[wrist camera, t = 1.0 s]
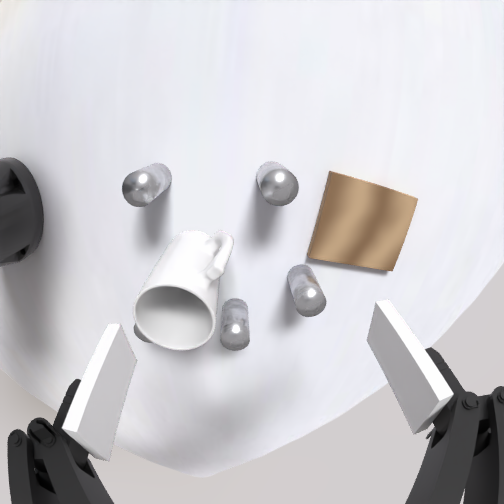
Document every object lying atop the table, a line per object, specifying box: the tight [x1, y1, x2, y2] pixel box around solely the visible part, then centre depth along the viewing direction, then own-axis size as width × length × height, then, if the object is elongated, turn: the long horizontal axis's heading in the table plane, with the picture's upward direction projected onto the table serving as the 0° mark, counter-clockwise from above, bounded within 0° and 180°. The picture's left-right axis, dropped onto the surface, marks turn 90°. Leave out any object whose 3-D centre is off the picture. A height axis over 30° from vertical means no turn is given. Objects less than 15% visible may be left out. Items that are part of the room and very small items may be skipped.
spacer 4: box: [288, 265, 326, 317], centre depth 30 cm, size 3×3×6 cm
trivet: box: [307, 171, 418, 271], centre depth 30 cm, size 12×10×1 cm
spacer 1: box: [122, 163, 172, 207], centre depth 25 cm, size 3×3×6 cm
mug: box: [133, 230, 234, 350], centre depth 25 cm, size 10×7×12 cm, turn 135°
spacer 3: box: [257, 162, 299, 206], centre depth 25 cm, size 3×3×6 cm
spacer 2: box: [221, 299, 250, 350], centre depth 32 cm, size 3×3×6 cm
